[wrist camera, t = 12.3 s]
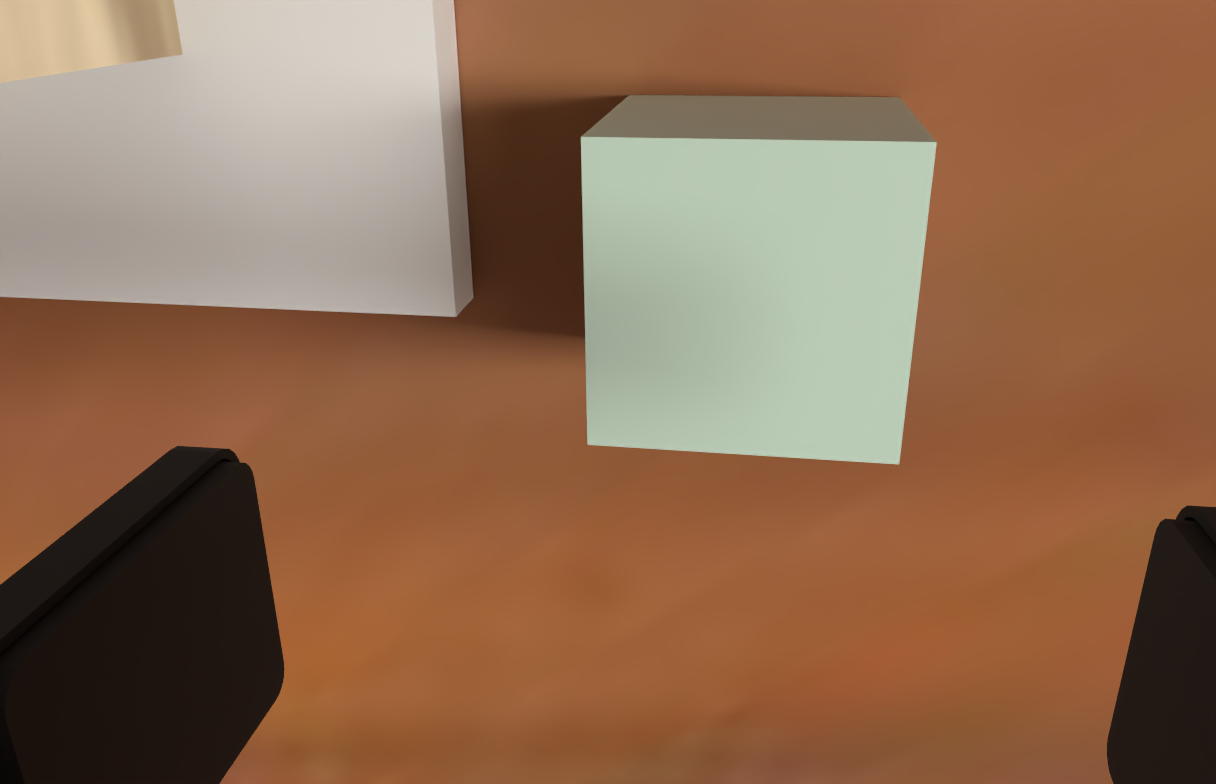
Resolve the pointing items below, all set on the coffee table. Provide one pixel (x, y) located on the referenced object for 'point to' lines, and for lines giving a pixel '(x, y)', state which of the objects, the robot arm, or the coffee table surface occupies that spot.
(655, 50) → the coffee table surface
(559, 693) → the coffee table surface
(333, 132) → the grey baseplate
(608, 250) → the sage block
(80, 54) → the maple block
